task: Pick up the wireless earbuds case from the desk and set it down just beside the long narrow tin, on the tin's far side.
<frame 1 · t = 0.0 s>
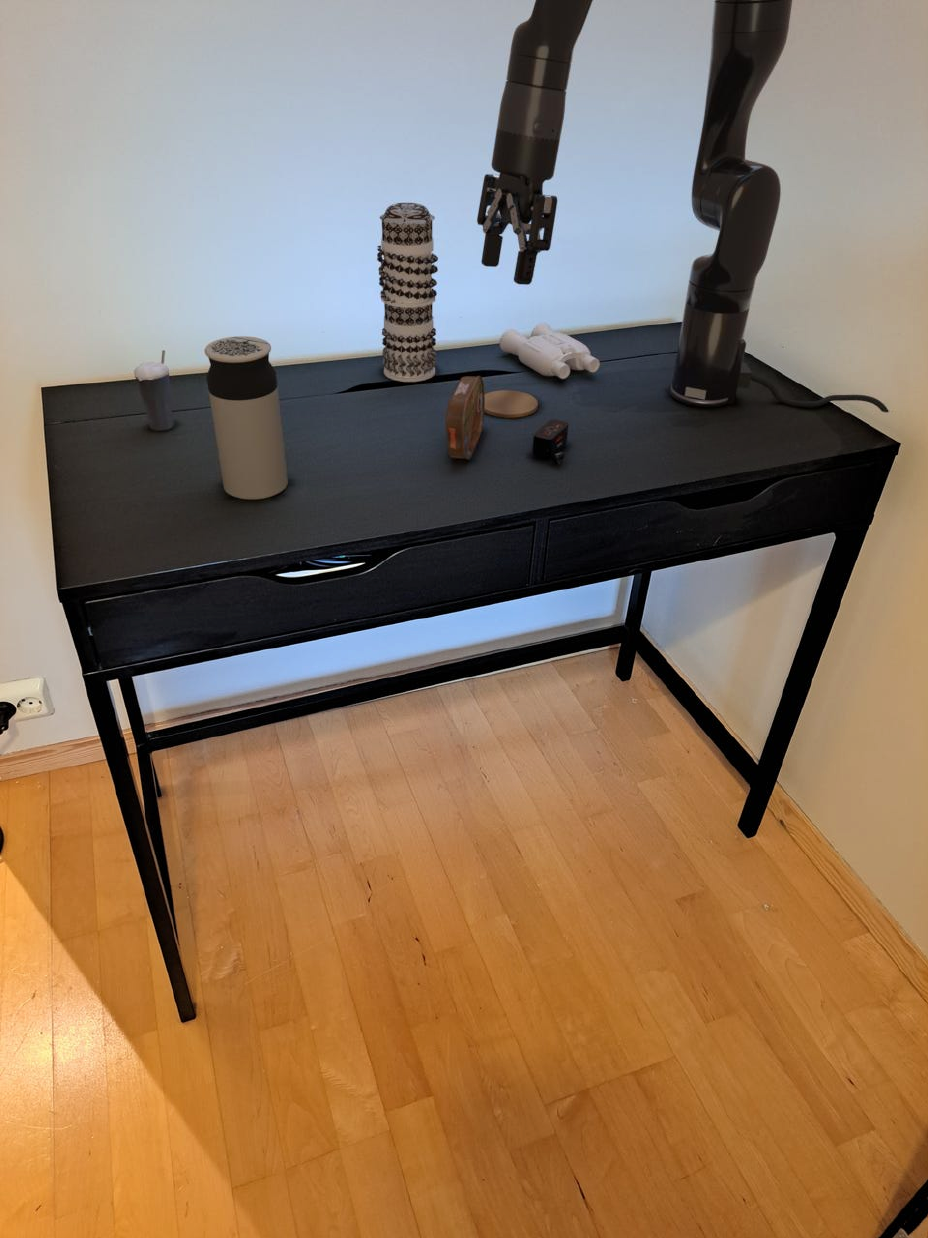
hand: (505, 274, 113), 22 cm above the table, tool pointing down, fingers open, 8 cm apart
binoculars: (549, 366, 149), on the table
tin: (465, 446, 125), on the table
travel mug: (256, 487, 114), on the table
milkshake: (164, 426, 128), on the table
cork coaster: (508, 405, 136), on the table
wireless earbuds: (552, 455, 123), on the table
decorative candle: (409, 373, 146), on the table
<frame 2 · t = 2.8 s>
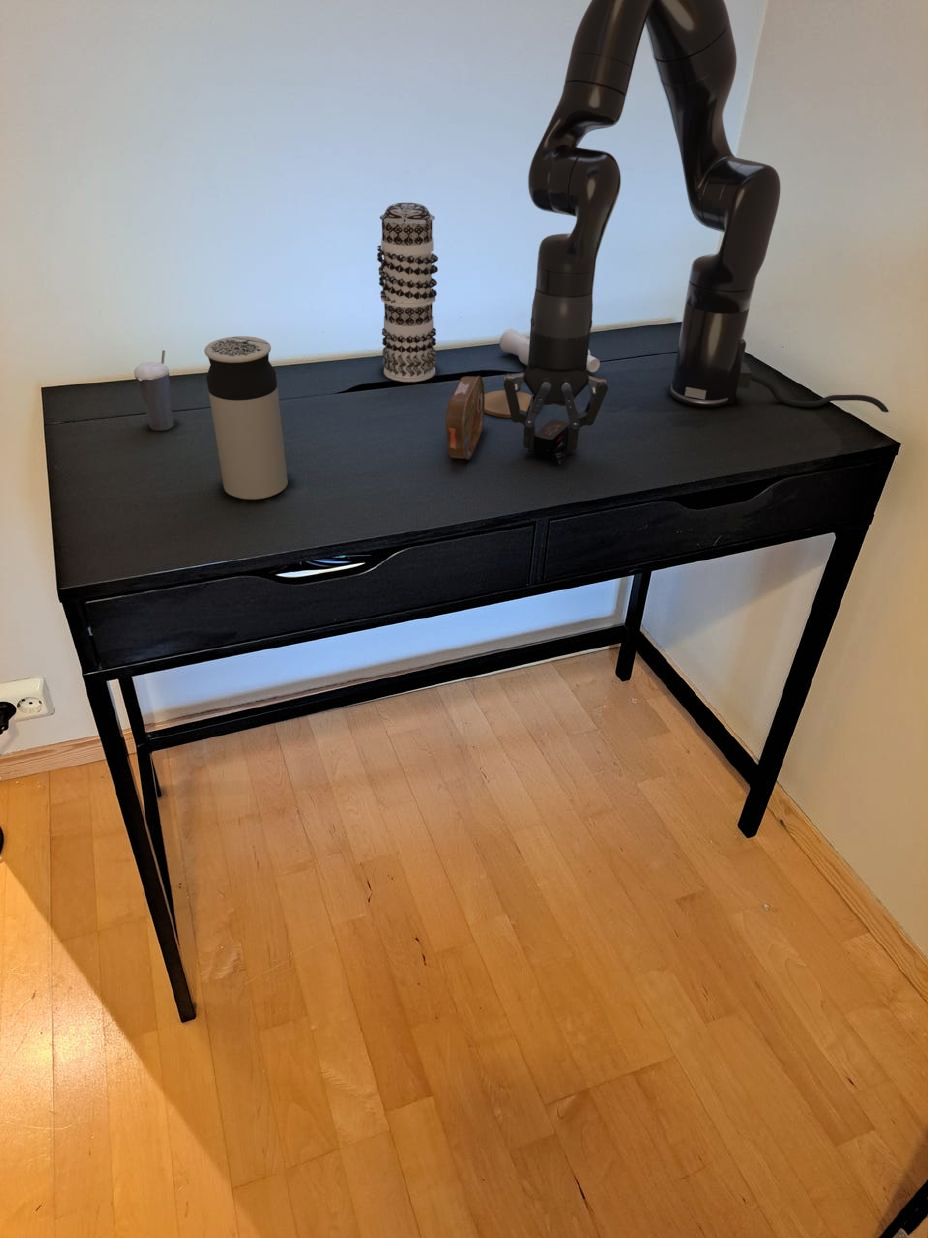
hand: (549, 450, 122), 1 cm above the table, tool pointing down, fingers closed on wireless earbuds, 4 cm apart
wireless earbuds: (552, 455, 123), on the table, touching gripper
everything else where it was.
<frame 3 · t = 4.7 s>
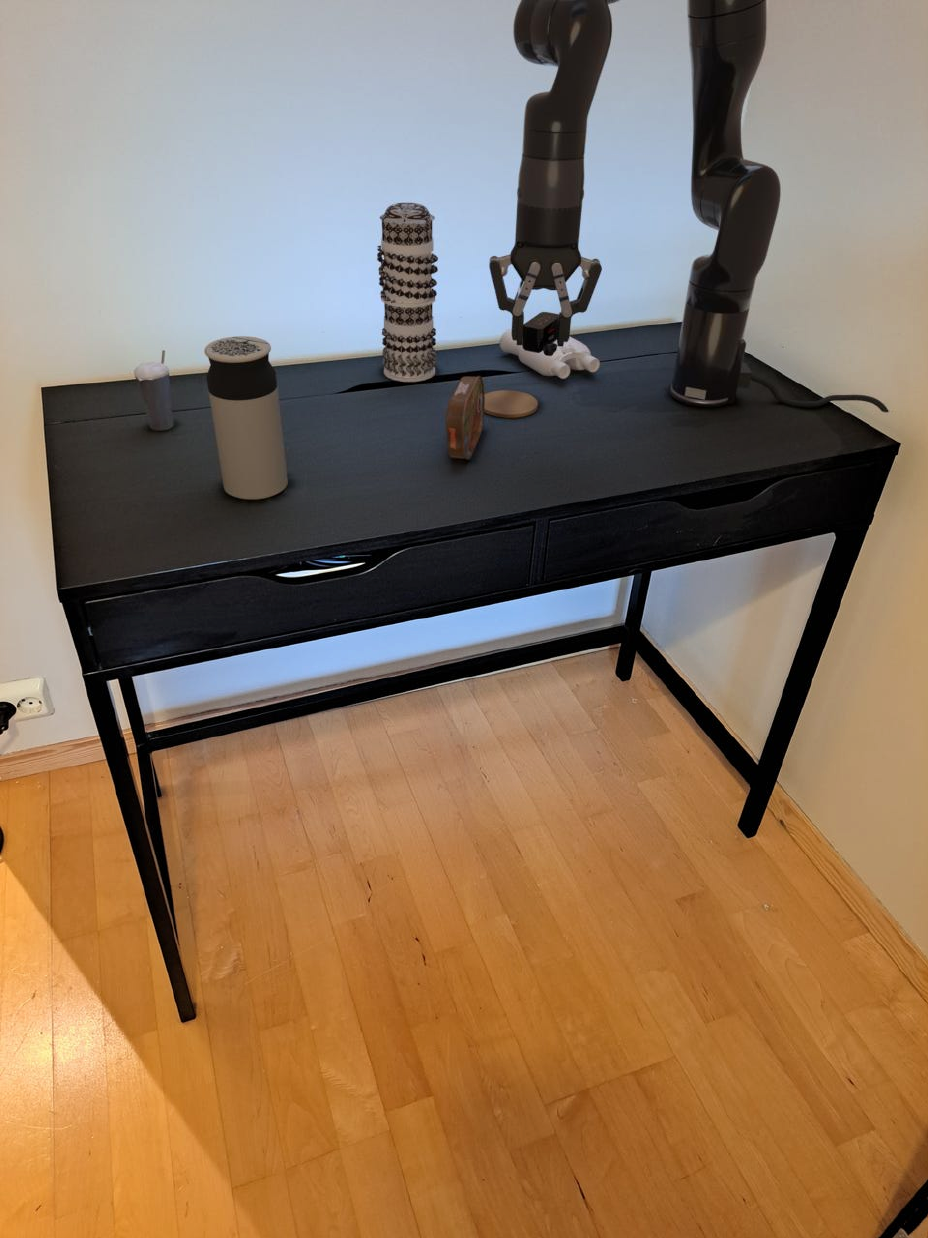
hand: (539, 343, 114), 15 cm above the table, tool pointing down, fingers closed on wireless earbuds, 4 cm apart
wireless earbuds: (543, 349, 114), point 14 cm above the table, touching gripper
everything else where it was.
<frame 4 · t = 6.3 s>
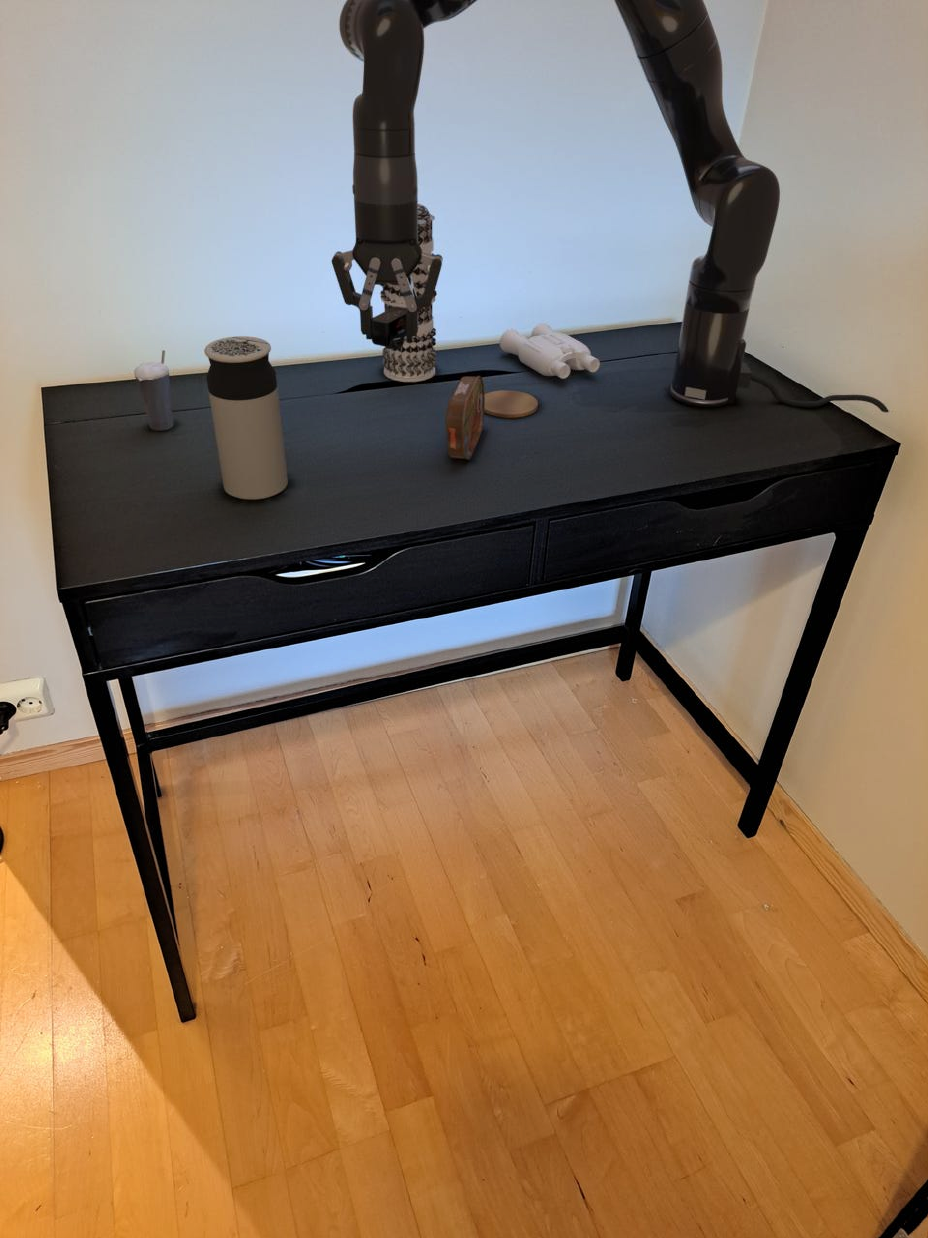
hand: (389, 337, 116), 15 cm above the table, tool pointing down, fingers closed on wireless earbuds, 4 cm apart
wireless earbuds: (394, 343, 116), point 14 cm above the table, touching gripper
everything else where it was.
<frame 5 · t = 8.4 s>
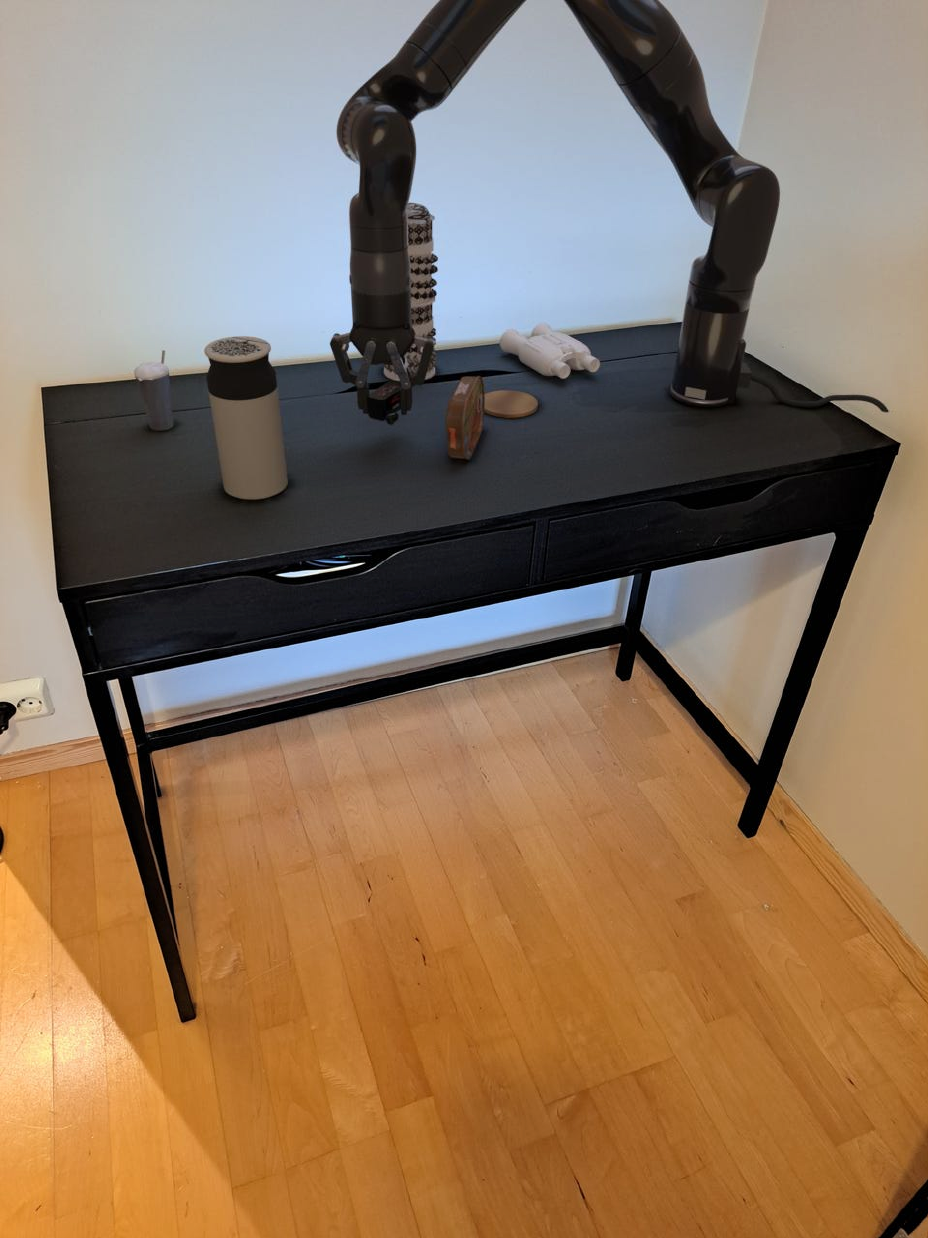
hand: (385, 411, 122), 5 cm above the table, tool pointing down, fingers closed on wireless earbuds, 4 cm apart
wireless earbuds: (389, 417, 123), point 4 cm above the table, touching gripper
everything else where it was.
when the fingers open (1 cm above the table, at t = 9.8 s): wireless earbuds stays where it is, on the table.
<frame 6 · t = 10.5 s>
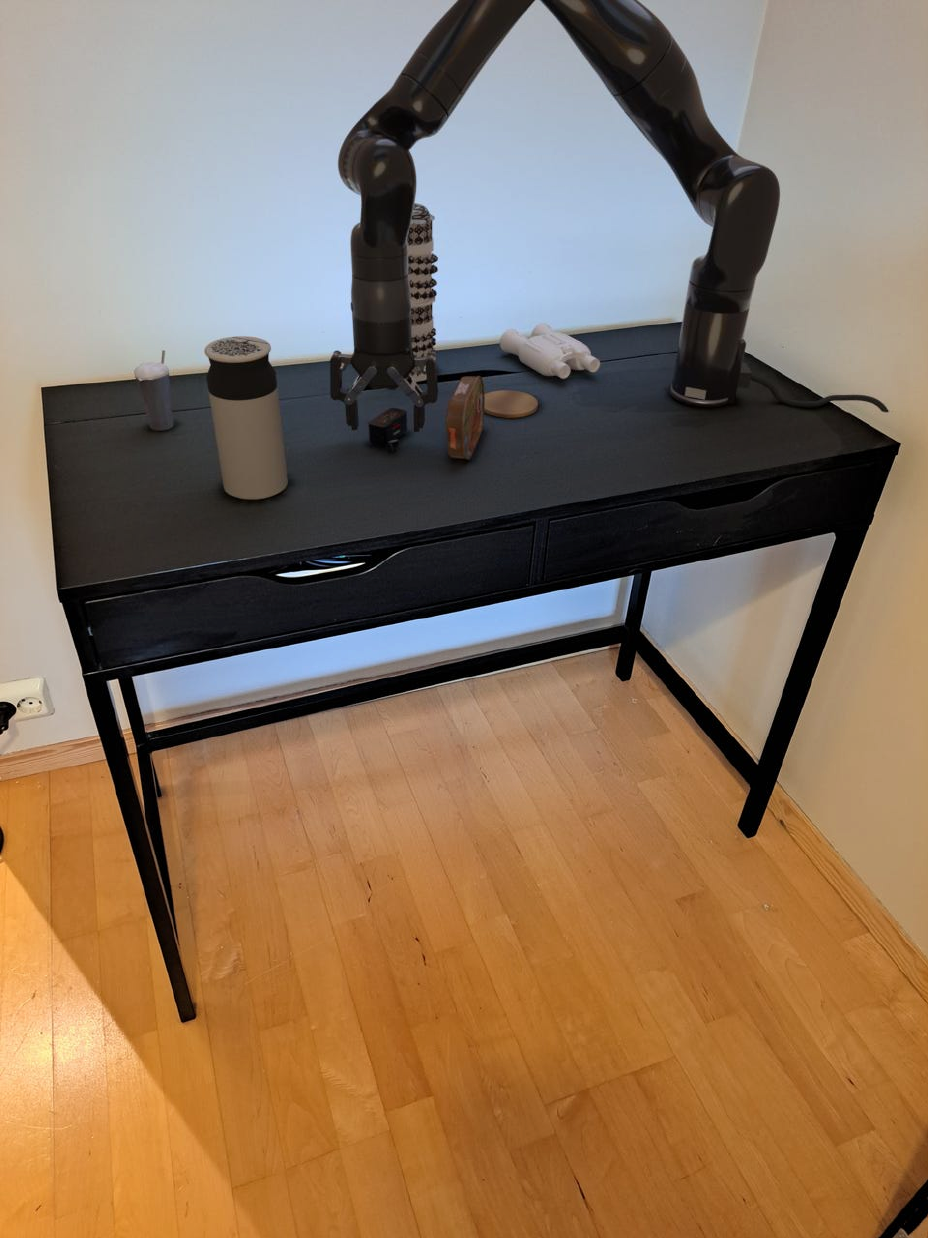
hand: (385, 428, 124), 2 cm above the table, tool pointing down, fingers open, 8 cm apart
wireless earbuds: (390, 443, 125), on the table
everything else where it was.
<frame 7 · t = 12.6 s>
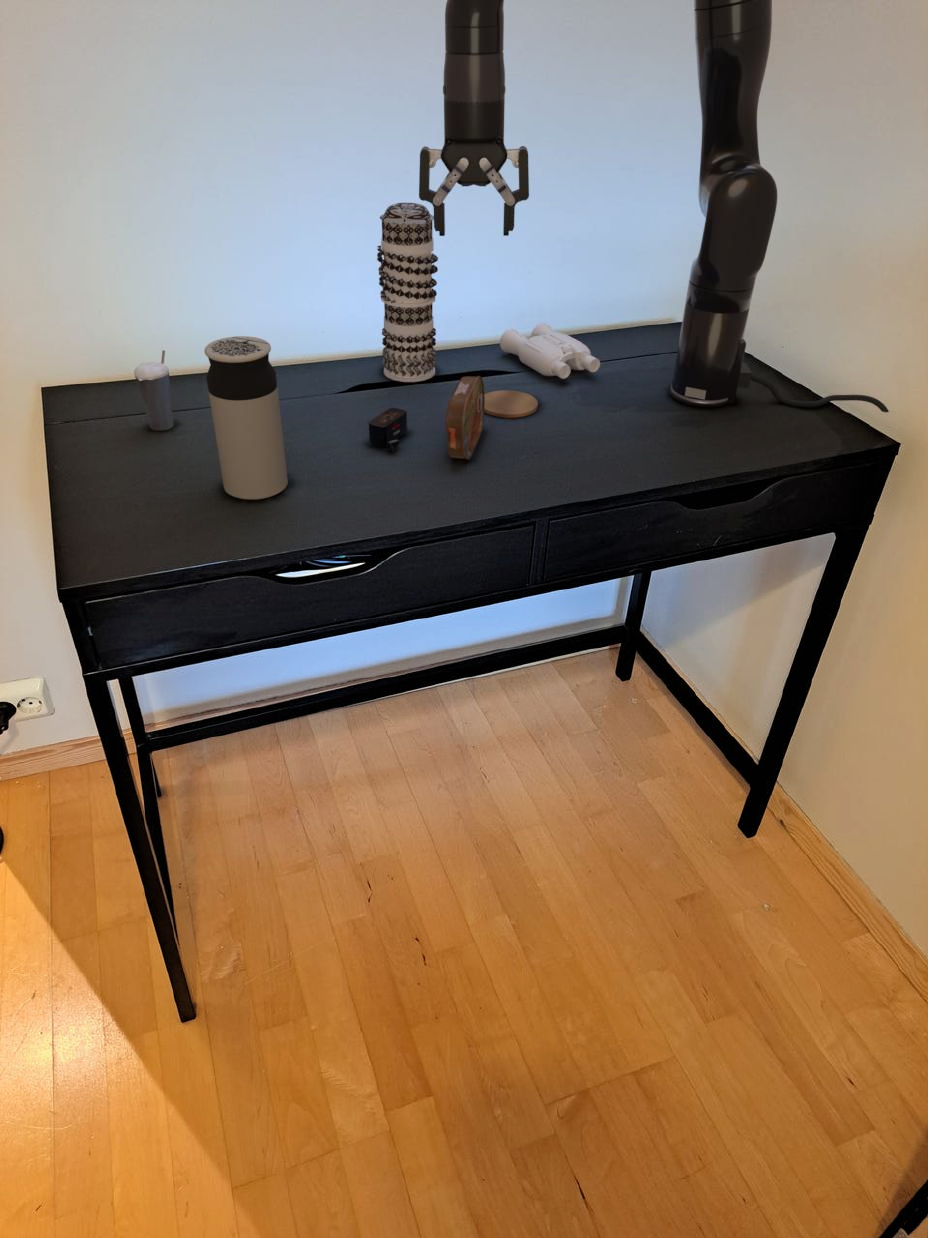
hand: (473, 234, 120), 25 cm above the table, tool pointing down, fingers open, 8 cm apart
nothing on the table moved.
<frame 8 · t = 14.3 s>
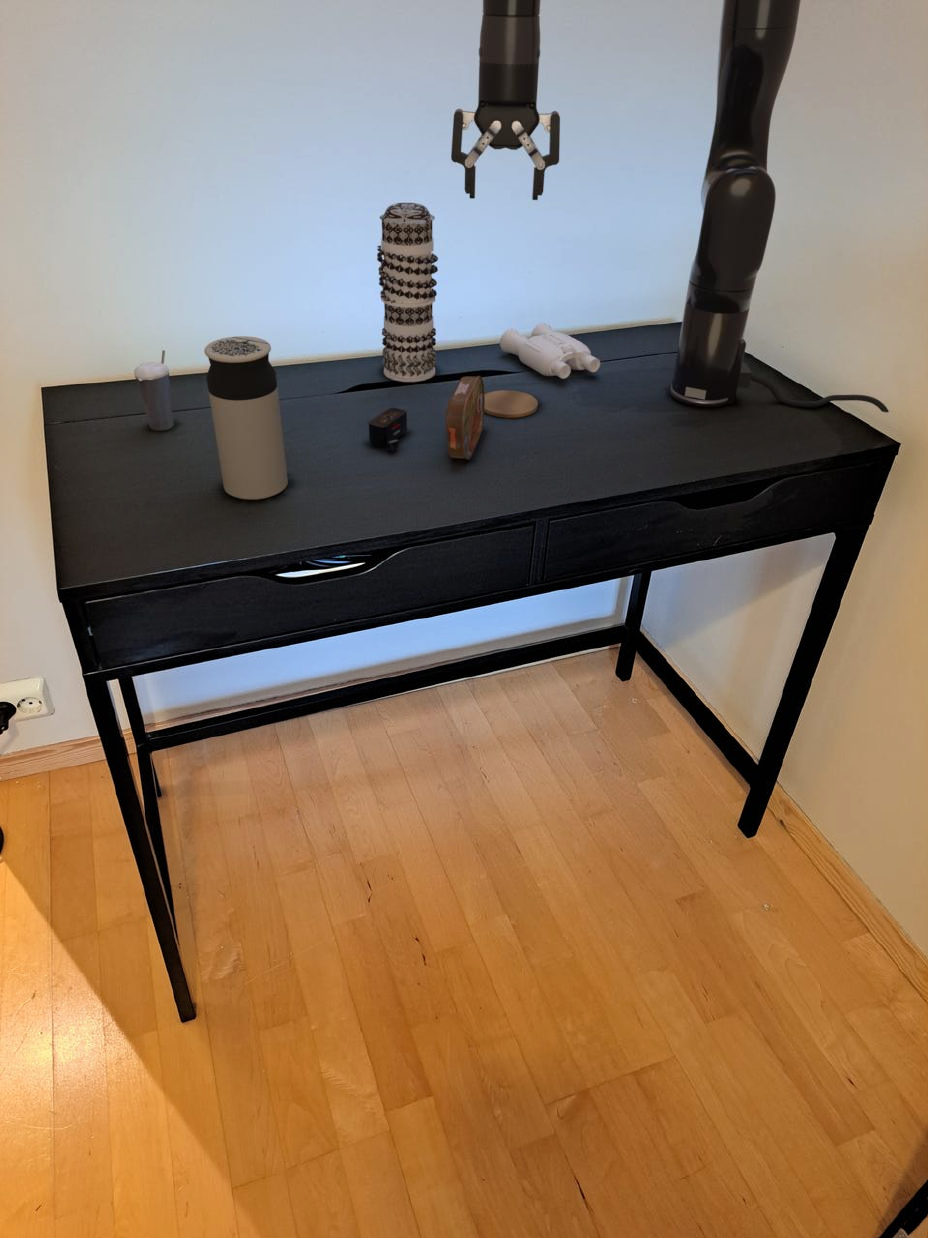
hand: (503, 198, 122), 28 cm above the table, tool pointing down, fingers open, 8 cm apart
nothing on the table moved.
at the end: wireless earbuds inside the target area on the table beside the tin (0.6 cm from its centre), on the table; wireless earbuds tilted 0°; tin tilted 0° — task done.
